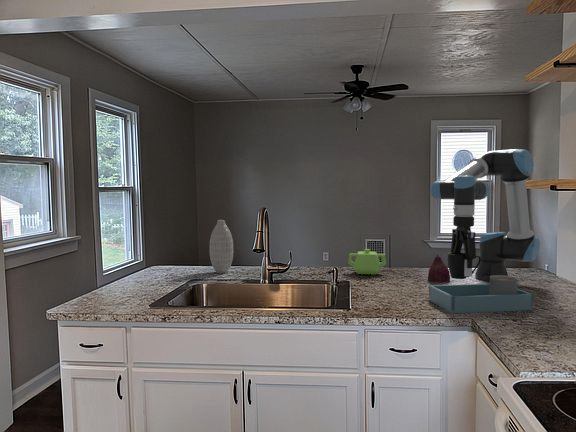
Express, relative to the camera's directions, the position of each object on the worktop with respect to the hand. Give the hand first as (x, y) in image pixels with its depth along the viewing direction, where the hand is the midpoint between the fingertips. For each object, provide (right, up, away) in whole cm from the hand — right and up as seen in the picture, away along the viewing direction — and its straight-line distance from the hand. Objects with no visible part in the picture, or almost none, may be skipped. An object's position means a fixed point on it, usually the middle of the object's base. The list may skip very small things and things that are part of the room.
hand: (462, 274), depth 184 cm
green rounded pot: (-26, -8, +69) cm, 74 cm away
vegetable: (+6, -9, +48) cm, 49 cm away
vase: (-104, -8, +71) cm, 126 cm away
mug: (0, -2, -1) cm, 2 cm away
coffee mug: (+16, -11, +2) cm, 20 cm away
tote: (+7, -12, +2) cm, 14 cm away
